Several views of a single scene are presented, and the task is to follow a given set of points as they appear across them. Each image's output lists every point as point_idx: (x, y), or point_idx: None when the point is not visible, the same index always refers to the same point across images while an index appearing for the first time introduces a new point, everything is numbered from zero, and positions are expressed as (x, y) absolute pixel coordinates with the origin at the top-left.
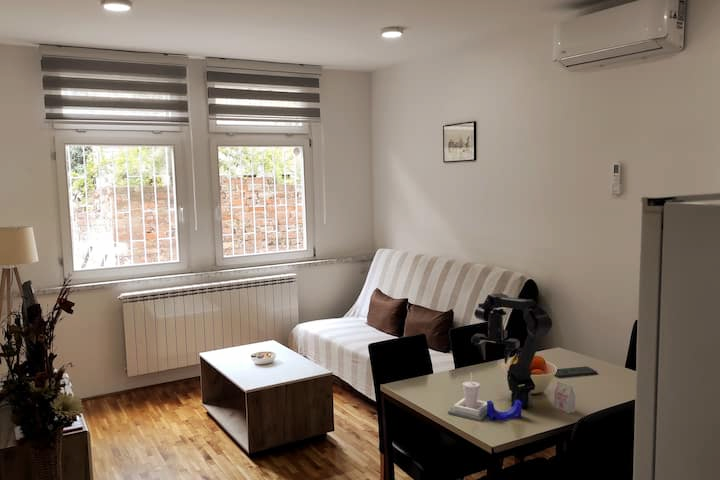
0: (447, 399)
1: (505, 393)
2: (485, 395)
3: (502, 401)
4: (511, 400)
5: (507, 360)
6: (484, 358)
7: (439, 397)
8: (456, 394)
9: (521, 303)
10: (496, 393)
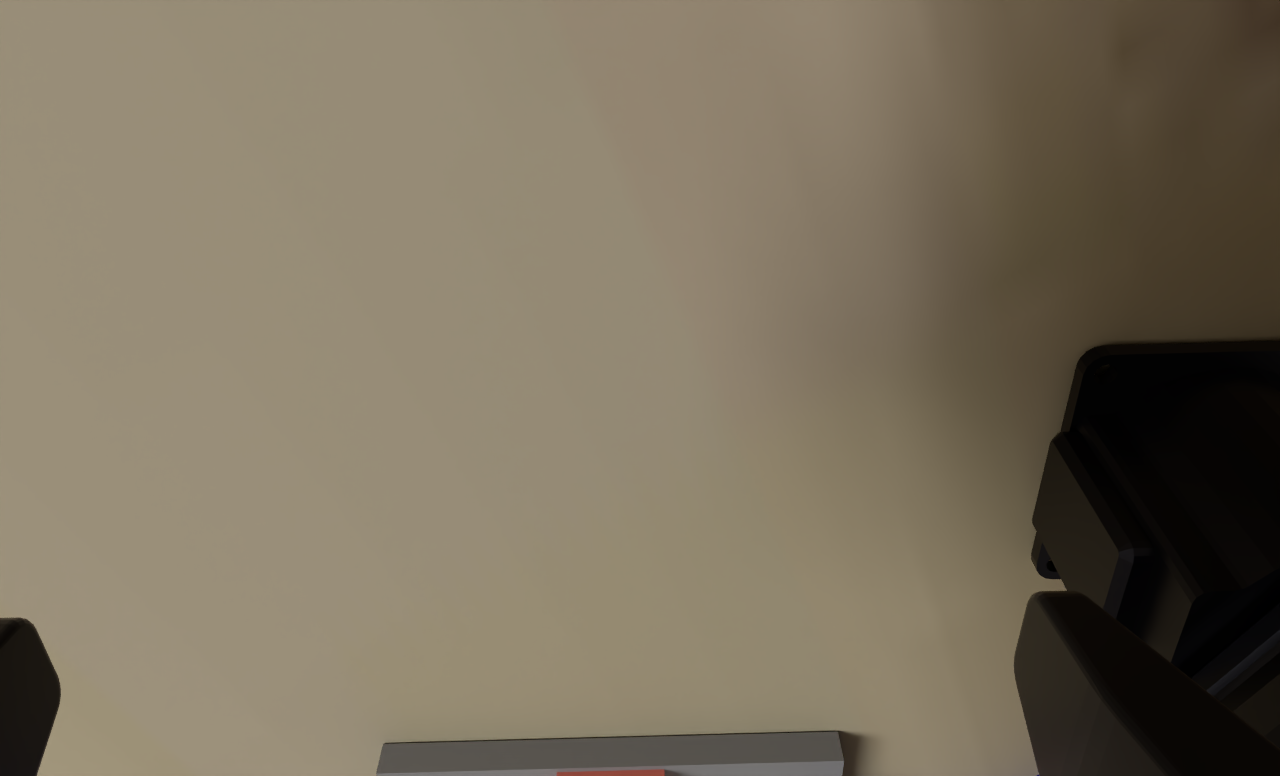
0: (157, 746)
1: (800, 75)
2: (511, 373)
3: (862, 455)
4: (1053, 556)
5: (1171, 703)
6: (24, 728)
7: None
8: (113, 562)
9: None
10: (639, 177)
